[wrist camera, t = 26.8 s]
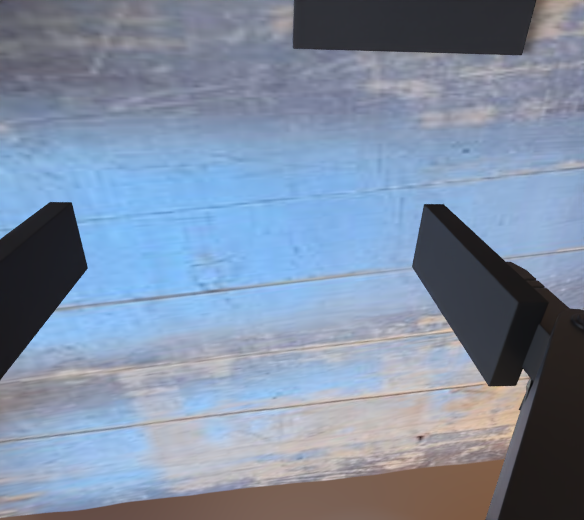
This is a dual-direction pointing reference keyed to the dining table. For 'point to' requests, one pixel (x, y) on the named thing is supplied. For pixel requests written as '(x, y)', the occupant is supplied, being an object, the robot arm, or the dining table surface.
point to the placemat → (413, 25)
